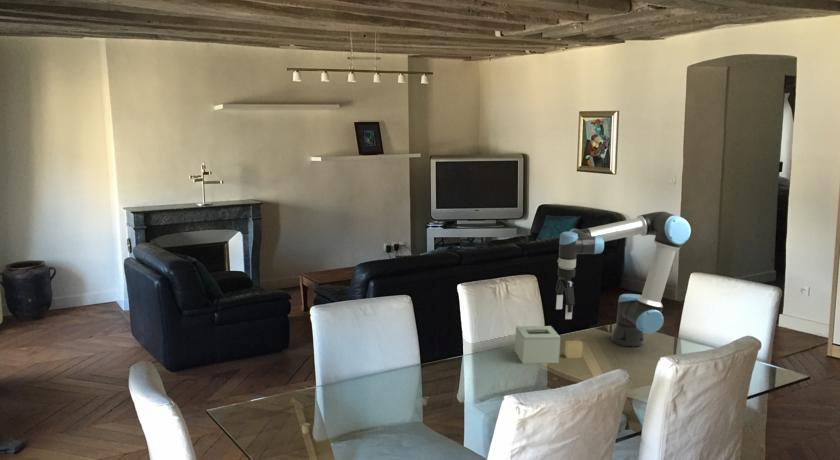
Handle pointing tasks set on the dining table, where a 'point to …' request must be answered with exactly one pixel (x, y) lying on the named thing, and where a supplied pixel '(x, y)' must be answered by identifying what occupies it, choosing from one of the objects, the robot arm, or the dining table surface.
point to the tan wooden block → (573, 349)
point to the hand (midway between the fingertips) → (563, 313)
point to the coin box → (537, 344)
